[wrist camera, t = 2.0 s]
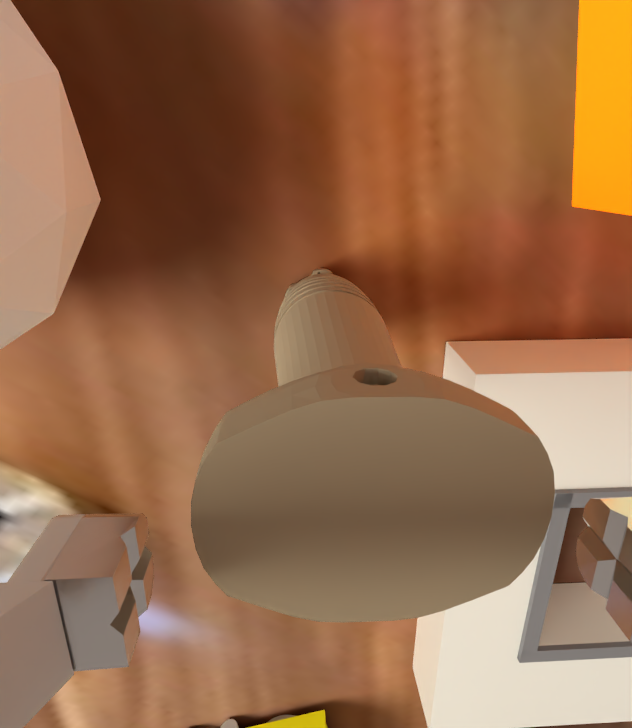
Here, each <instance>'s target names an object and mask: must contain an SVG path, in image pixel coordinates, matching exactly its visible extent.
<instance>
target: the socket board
mask: <svg viewBox="0 0 632 728" xmlns="http://www.w3.org/2000/svg"><path fill="white" fill-rule="evenodd" d="M443 378H444V379H447V380H450V381H452V382H455V383H457V384H459V385H462V386H464V387H466V388H469V389H471V390H473V391H475V392H477V393H480V394H482V395H484V396H486V397H488V398H490V399H492V400H494V401H496V402H498V403H500V404H502V405H503V406H505V407H507V408H509V409H511V410H512V411H514V412H515V413H516V414H517V415H518V416H519V417H520V418H521V419H522V420H523V421H524V422H525V423H526V424H527V425H528V426H529V427H530V428H531V429H532V431H533V432H534V433H535V434H536V435H537V436H538V437H539V439H540V440H541V442H542V444H543V446H544V448H545V450H546V451H547V453H548V456H549V459H550V462H551V465H552V468H553V471H554V485H555V496H554V504H553V511H552V517H551V520H550V523H549V526H548V529H547V532H546V535H545V538H544V540H543V542H542V544H541V546H540V548H539V550H538V552H537V554H536V556H535V558H534V559H533V560H532V561H531V563H530V564H529V565H528V566H527V567H526V569H525V570H524V571H523V572H522V573H521V574H520V575H519V576H518V577H517V578H516V579H515V580H514V581H513V582H512V583H511V584H510V585H509V586H507V587H505V588H502V589H500V590H497V591H494V592H492V593H489V594H487V595H484V596H482V597H479V598H477V599H474V600H471V601H469V602H466V603H463V604H461V605H458V606H455V607H452V608H450V609H447V610H444V611H441V612H437V613H434V614H430V615H426V616H423V617H419V618H418V620H417V629H416V639H415V648H414V658H413V671H414V675H415V679H416V683H417V687H418V691H419V695H420V699H421V703H422V707H423V711H424V714H425V718H426V722H427V726H428V728H524V727H541V726H558V725H575V724H592V723H609V722H626V721H632V641H629V640H628V638H627V637H626V636H625V634H624V633H623V632H622V630H621V629H620V628H619V626H618V625H617V624H616V622H615V621H614V620H613V618H612V617H611V616H610V614H609V613H608V612H607V610H606V600H607V599H606V598H604V597H603V596H601V595H599V594H598V593H596V592H595V591H593V590H591V589H590V587H589V586H588V585H587V583H586V582H584V583H561V584H553V580H554V576H555V572H556V568H557V563H558V559H559V555H560V550H561V546H562V542H563V537H564V533H565V529H566V524H567V520H568V516H569V511H570V508H585V505H586V504H587V502H588V501H589V500H590V498H611V497H632V338H621V339H564V340H507V341H450V342H446V350H445V360H444V370H443Z"/></svg>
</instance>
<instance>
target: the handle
mask: <svg viewBox="0 0 632 728" xmlns="http://www.w3.org/2000/svg"><path fill="white" fill-rule="evenodd" d="M274 354H275V362H276V370H277V378H278V386H279V387H277V388H274V389H272V390H269V391H267V392H265V393H263V394H261V395H259V396H257V397H255V398H253V399H251V400H249V401H247V402H245V403H243V404H241V405H239V406H237V407H235V408H233V409H232V410H230V411H228V412H227V413H226V414H225V415H224V416H223V418H222V419H221V421H220V422H219V424H218V425H217V427H216V428H215V430H214V432H213V434H212V436H211V438H210V440H209V442H208V444H207V446H206V448H205V450H204V453H203V456H202V459H201V462H200V466H199V469H198V473H197V476H196V480H195V485H194V490H193V495H192V500H191V528H192V533H193V538H194V543H195V548H196V551H197V553H198V555H199V558H200V560H201V563H202V565H203V567H204V569H205V571H206V572H207V573H208V575H209V576H210V577H211V579H212V580H213V581H214V583H215V584H216V585H217V586H218V587H219V588H220V589H221V590H222V591H223V592H224V593H225V594H226V595H227V596H230V597H233V598H236V599H239V600H242V601H245V602H248V603H251V604H254V605H257V606H260V607H263V608H266V609H270V610H273V611H276V612H280V613H283V614H286V615H290V616H293V617H298V618H303V619H308V620H312V621H318V622H367V621H394V620H402V619H411V618H419V617H423V616H426V615H430V614H434V613H437V612H441V611H444V610H447V609H450V608H452V607H455V606H458V605H461V604H463V603H466V602H469V601H471V600H474V599H477V598H479V597H482V596H484V595H487V594H489V593H492V592H494V591H497V590H500V589H502V588H505V587H507V586H509V585H510V584H511V583H512V582H513V581H514V580H515V579H516V578H517V577H518V576H519V575H520V574H521V573H522V572H523V571H524V570H525V569H526V567H527V566H528V565H529V564H530V563H531V561H532V560H533V559H534V558H535V556H536V554H537V552H538V550H539V548H540V546H541V544H542V542H543V540H544V538H545V535H546V532H547V529H548V526H549V523H550V520H551V517H552V511H553V504H554V496H555V485H554V471H553V468H552V465H551V462H550V459H549V456H548V453H547V451H546V450H545V448H544V446H543V444H542V442H541V440H540V439H539V437H538V436H537V435H536V434H535V433H534V432H533V431H532V429H531V428H530V427H529V426H528V425H527V424H526V423H525V422H524V421H523V420H522V419H521V418H520V417H519V416H518V415H517V414H516V413H515V412H514V411H512V410H511V409H509V408H507V407H505V406H503V405H502V404H500V403H498V402H496V401H494V400H492V399H490V398H488V397H486V396H484V395H482V394H480V393H477V392H475V391H473V390H471V389H469V388H466V387H464V386H462V385H459V384H457V383H455V382H452V381H450V380H447V379H444V378H441V377H438V376H435V375H431V374H428V373H425V372H421V371H416V370H412V369H408V368H403V367H402V366H401V363H400V361H399V359H398V356H397V354H396V351H395V348H394V346H393V343H392V340H391V338H390V335H389V333H388V330H387V327H386V325H385V322H384V320H383V319H382V317H381V315H380V314H379V312H378V310H377V309H376V307H375V305H374V304H373V303H372V302H371V300H370V299H369V298H368V297H367V296H366V295H365V294H364V293H363V292H362V291H361V290H360V289H359V288H358V287H357V286H356V285H354V284H353V283H351V282H350V281H348V280H347V279H344V278H342V277H340V276H337V275H333V273H332V272H331V271H330V270H328V269H322V268H321V269H315V270H314V271H313V273H312V274H311V275H310V276H309V277H306V278H304V279H302V280H301V281H299V282H298V283H295V284H294V283H293V284H291V285H290V286H289V288H288V289H287V292H286V294H285V298H284V300H283V302H282V305H281V307H280V310H279V312H278V316H277V320H276V324H275V333H274Z"/></svg>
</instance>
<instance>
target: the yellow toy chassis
mask: <svg viewBox="0 0 632 728" xmlns="http://www.w3.org/2000/svg"><path fill="white" fill-rule="evenodd" d="M221 728H239V726H238V724H237V722H236V721H235V720H234V719H229V720H226V721H225V722H224V723H223V724H222V726H221ZM247 728H328V727H327V725H326V715H325V710H321V711H316V712H312V713H308V714H303V715H299V716H295V715H281V716H277V717H274V718H272V719H271V720H269V721H268V722H267V723H265V724H260V725H256V726H252V727H247Z"/></svg>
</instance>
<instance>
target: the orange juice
mask: <svg viewBox="0 0 632 728" xmlns="http://www.w3.org/2000/svg"><path fill="white" fill-rule="evenodd" d="M572 207H579V208H585V209H592V210H598V211H605V212H612V213H618V214H625V215H631V216H632V0H579V25H578V53H577V80H576V107H575V135H574V162H573V189H572Z"/></svg>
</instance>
